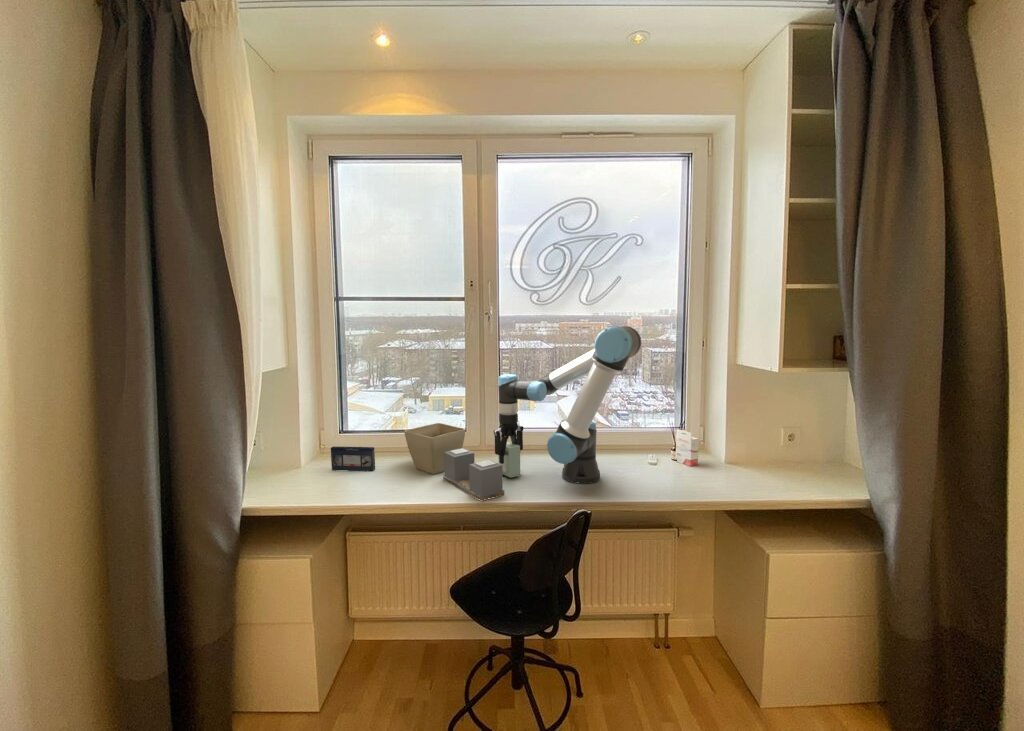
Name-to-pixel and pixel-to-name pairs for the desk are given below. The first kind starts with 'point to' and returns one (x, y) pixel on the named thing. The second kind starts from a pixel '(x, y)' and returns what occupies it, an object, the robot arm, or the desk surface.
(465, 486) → the rail board
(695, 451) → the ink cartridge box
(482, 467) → the mounted modules
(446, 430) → the flower pot
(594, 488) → the desk surface
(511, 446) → the block
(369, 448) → the vhs cassette tape
